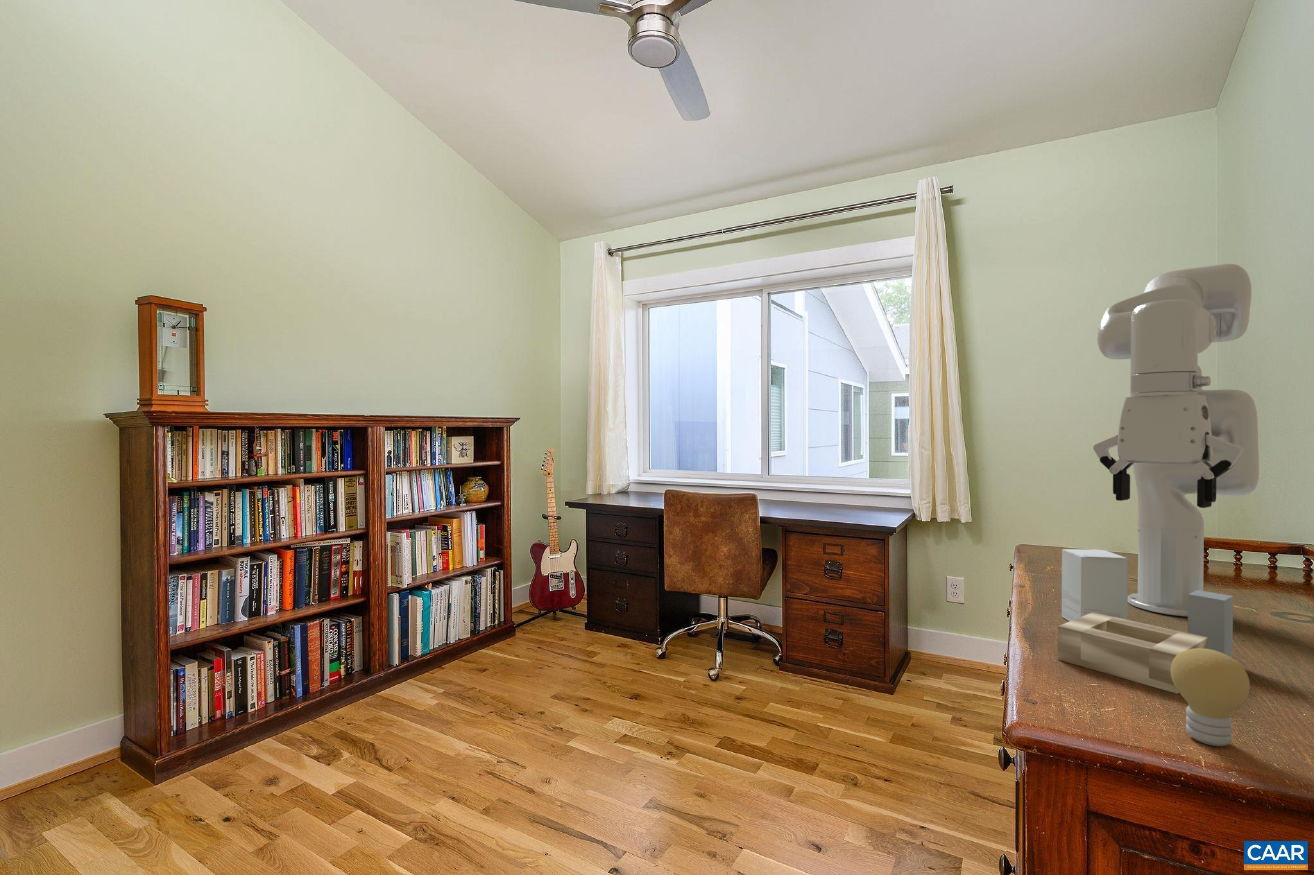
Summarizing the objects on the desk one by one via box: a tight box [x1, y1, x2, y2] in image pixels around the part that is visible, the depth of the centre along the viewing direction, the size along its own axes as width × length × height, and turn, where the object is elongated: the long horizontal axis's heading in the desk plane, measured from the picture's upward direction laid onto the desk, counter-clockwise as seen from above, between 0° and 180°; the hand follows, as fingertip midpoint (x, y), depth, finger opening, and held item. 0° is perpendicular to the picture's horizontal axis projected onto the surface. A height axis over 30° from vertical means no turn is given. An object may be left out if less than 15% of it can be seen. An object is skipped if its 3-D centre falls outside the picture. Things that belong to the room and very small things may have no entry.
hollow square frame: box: [1057, 612, 1208, 695], centre depth 87 cm, size 12×14×5 cm
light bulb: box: [1171, 648, 1251, 747], centre depth 66 cm, size 6×6×10 cm
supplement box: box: [1061, 548, 1129, 622], centre depth 106 cm, size 7×7×13 cm
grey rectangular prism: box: [1187, 590, 1234, 658], centre depth 88 cm, size 4×4×10 cm
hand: (1161, 503), depth 88 cm, fingers open, 9 cm apart
